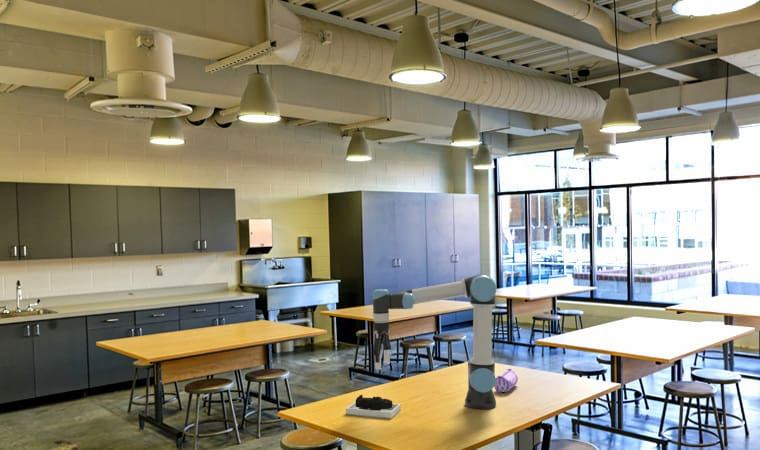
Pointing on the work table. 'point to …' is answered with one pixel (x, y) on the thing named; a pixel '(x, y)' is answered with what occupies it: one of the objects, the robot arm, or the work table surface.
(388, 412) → the tray
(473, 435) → the work table surface
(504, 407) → the work table surface
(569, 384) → the work table surface
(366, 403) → the night vision scope
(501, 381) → the pencil case
